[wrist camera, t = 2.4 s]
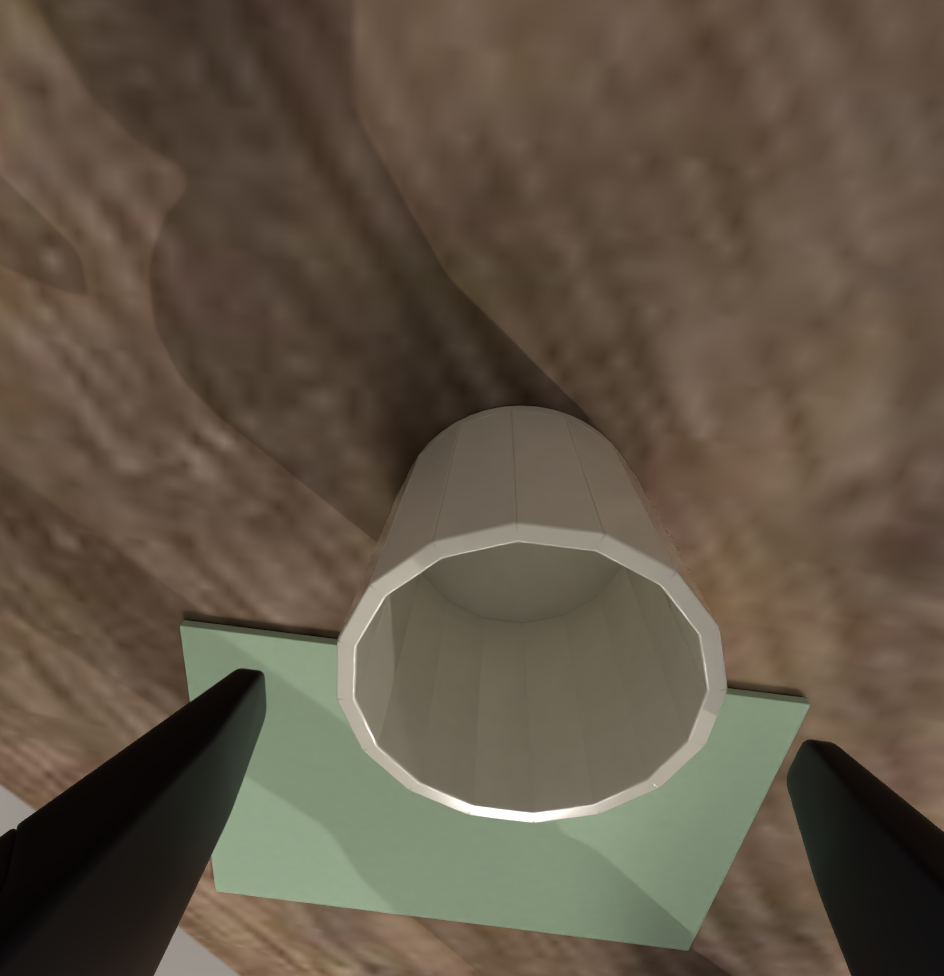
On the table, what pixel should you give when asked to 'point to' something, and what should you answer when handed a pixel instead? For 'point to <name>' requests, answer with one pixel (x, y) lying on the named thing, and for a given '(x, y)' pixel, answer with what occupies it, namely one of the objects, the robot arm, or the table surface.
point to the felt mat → (473, 839)
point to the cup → (528, 627)
